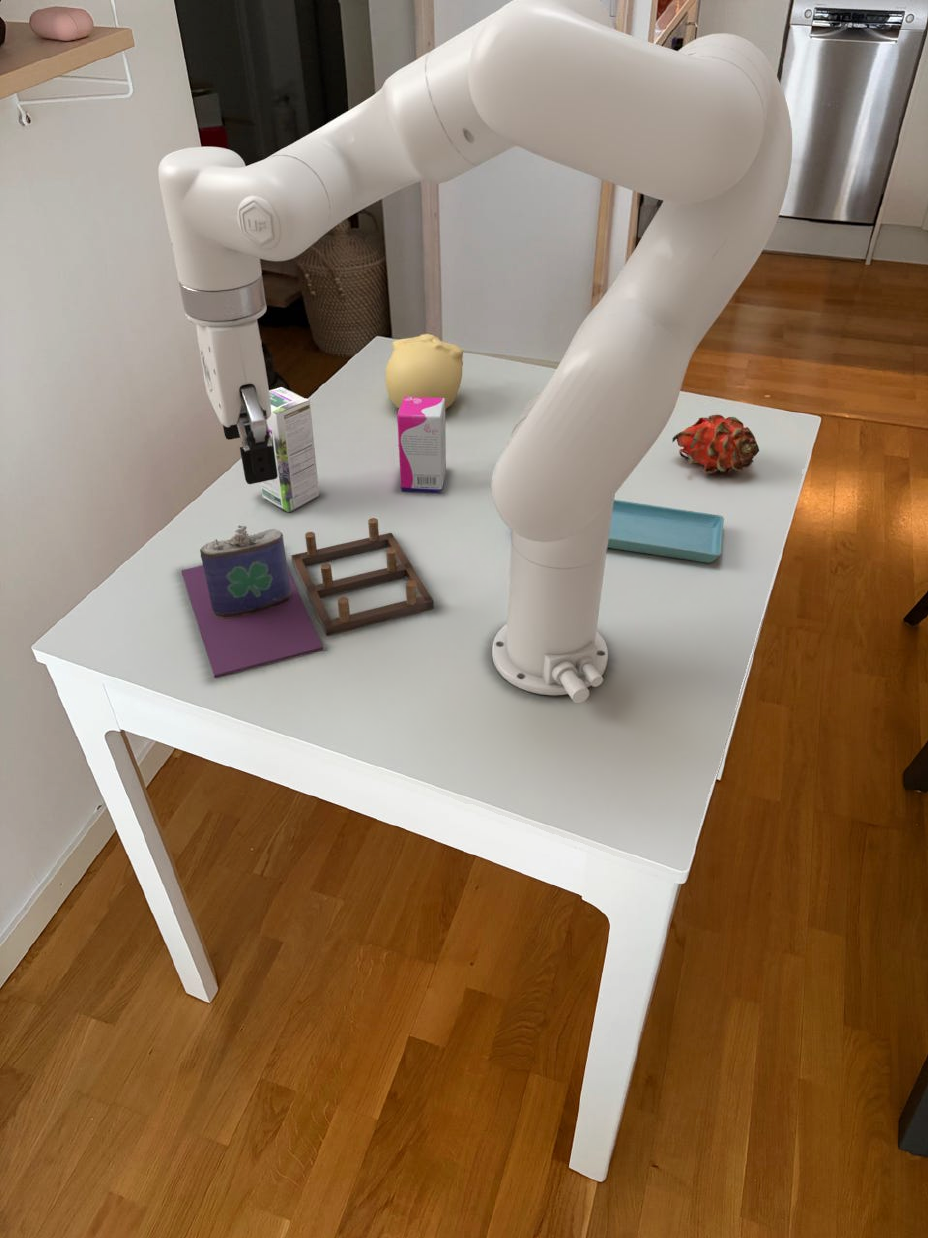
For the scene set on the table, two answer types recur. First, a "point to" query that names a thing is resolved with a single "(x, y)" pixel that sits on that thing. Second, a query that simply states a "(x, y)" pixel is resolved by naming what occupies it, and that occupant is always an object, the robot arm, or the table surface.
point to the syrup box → (291, 451)
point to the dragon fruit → (718, 444)
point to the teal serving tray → (665, 531)
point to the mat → (250, 630)
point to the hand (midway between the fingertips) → (250, 457)
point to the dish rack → (360, 581)
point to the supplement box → (422, 444)
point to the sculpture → (424, 369)
